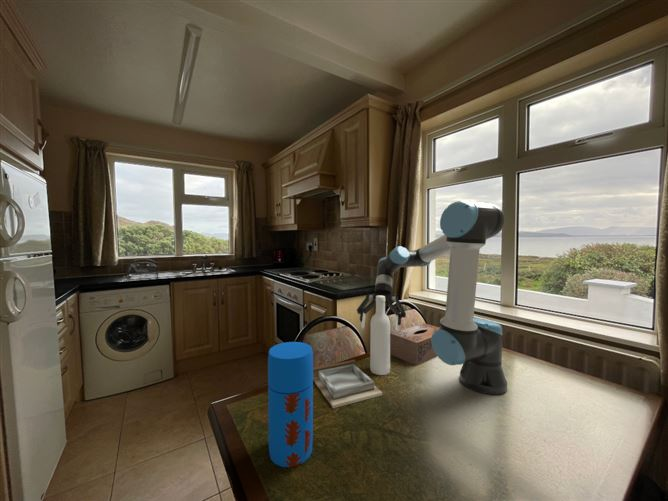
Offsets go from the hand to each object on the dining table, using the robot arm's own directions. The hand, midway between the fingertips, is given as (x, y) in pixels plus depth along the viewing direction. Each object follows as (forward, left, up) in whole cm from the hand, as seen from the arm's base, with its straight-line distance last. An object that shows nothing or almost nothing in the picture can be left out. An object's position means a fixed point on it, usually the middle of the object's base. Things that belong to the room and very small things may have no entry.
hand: (379, 330), depth 107 cm
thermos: (-27, +43, -16) cm, 53 cm away
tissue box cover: (+7, -27, -17) cm, 33 cm away
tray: (-6, +18, -16) cm, 25 cm away
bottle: (-1, 0, -16) cm, 16 cm away
